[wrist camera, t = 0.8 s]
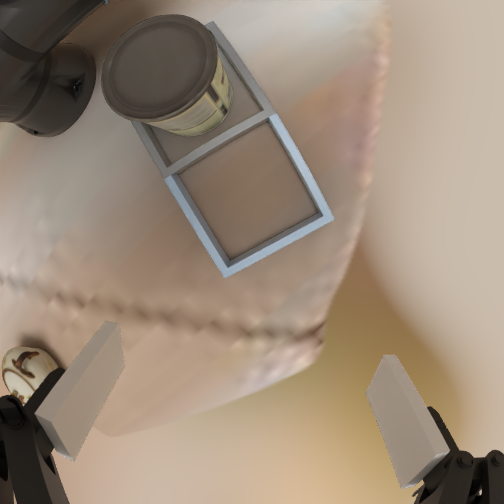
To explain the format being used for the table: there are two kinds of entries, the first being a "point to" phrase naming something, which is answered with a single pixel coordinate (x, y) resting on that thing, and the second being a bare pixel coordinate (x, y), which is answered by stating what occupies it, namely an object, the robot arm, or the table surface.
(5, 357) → the sugar bowl
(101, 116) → the table surface
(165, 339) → the table surface
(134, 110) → the coffee can
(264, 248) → the bay tray
